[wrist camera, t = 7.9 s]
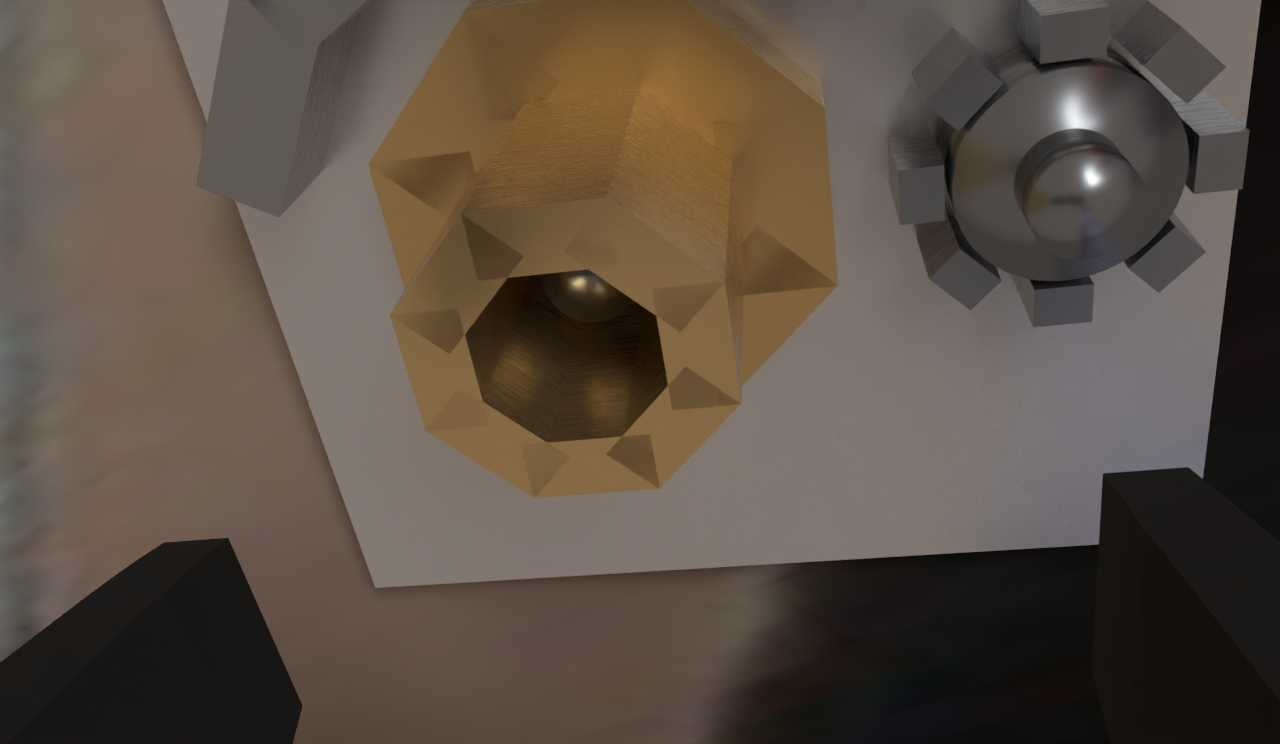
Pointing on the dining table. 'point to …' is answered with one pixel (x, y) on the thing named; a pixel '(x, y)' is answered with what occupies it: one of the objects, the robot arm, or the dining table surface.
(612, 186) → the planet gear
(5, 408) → the dining table surface
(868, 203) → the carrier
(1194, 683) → the robot arm
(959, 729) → the dining table surface
